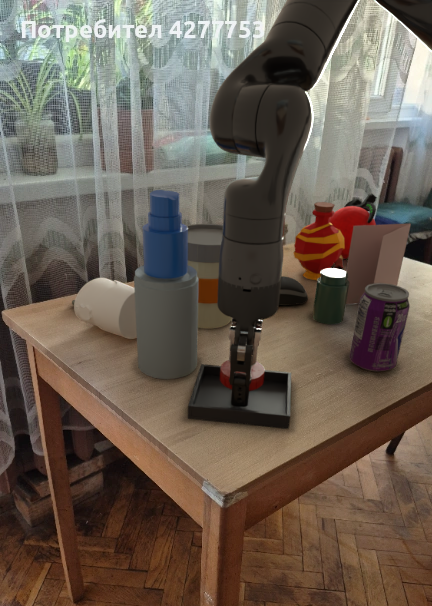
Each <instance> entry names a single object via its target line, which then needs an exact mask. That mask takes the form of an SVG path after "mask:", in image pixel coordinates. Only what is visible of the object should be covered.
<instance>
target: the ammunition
mask: <svg viewBox="0 0 432 606" xmlns="http://www.w3.org/2000/svg"><path fill="white" fill-rule="evenodd" d="M346 262H347V263H348V258H347V259H346ZM347 263H346V264H347ZM334 269H340V270H343V271H344V259H343V257H342V255H340V257H339V258H338V259H337V261H336V262H335V263H334Z"/></svg>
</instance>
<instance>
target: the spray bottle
mask: <svg viewBox="0 0 432 606" xmlns="http://www.w3.org/2000/svg"><path fill="white" fill-rule="evenodd" d="M186 225H187V224H185V223H183V214H182V212H181V211H180V193H179V192H177V191H175V190H174V191H173V190H164V189H155V190H152V191H151V192H150V193H149V211H148V212H147V223H145V224H144V225H143V226H142V227H141V228H142V250H143V251H142V254H143V265H141V266H139V267H137V268H136V270H135V271H134V276H133V287H134V290H135V311H136V331H137V338H136V349H137V351H136V352H137V366H138V369H139V370H140V372H141V373H142V374H144V375H146V376H148V377H150V378H155V379H160V380H176V379H179V378H184V377H186V376H188V375H191V374H192V373H193V372H194V371H196V369H197V366H198V339H199V337H198V335H199V334H198V333H199V331H198V330H199V328H198V282H199V279H198V276H197V271H196V269H194V268H193V267H191V266H189V265H188V228H187V226H186Z"/></svg>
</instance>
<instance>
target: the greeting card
mask: <svg viewBox="0 0 432 606" xmlns="http://www.w3.org/2000/svg"><path fill="white" fill-rule="evenodd" d="M410 229H411V223H391V224H389V223H388V224H376V225H364V226H354V227H353V233H352V239H351V245H350V251H349V257H348V263H346V270H345V271H346V272H347V273H348V278H347V280H348V281H349V282H350V284H349V290H348V296H347V302H346V305H355V304H356V305H357V304H358V305H359V301H360V298H361V296H362V295H363V294H364V292H365V287H366V286H367V285H370V284H375V283H386V284H392V285H396V286H398V283H399V279H400V275H401V270H402V265H403V261H404V257H405V252H406V247H407V243H408V239H409V234H410Z"/></svg>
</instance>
